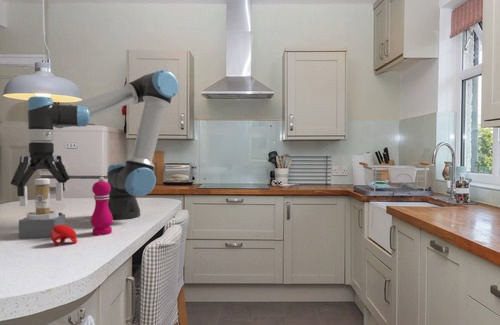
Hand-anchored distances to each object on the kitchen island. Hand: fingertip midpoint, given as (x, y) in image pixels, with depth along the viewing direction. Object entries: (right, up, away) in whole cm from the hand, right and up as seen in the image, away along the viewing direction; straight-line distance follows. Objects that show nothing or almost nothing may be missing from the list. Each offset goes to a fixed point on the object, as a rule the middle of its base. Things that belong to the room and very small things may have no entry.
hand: (42, 203), depth 125 cm
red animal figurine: (+14, -12, -12) cm, 21 cm away
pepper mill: (+20, -11, +2) cm, 23 cm away
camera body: (0, -11, 0) cm, 11 cm away
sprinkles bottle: (0, -5, 0) cm, 5 cm away
